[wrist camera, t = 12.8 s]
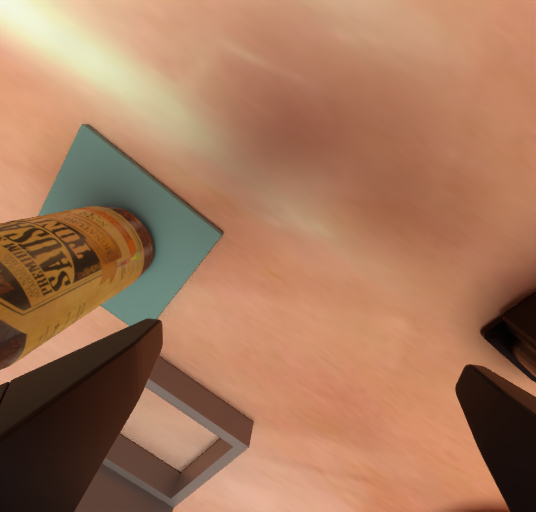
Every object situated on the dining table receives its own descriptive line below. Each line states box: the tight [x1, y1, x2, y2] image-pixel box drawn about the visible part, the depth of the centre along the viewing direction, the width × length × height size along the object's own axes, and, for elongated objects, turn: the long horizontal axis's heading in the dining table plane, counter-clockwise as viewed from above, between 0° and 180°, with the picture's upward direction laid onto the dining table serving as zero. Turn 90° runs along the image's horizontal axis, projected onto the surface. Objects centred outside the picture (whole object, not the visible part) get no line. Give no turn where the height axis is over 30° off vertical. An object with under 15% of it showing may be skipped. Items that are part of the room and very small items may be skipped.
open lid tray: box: [74, 356, 253, 512], centre depth 22 cm, size 13×14×14 cm
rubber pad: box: [38, 124, 223, 326], centre depth 22 cm, size 12×12×1 cm
